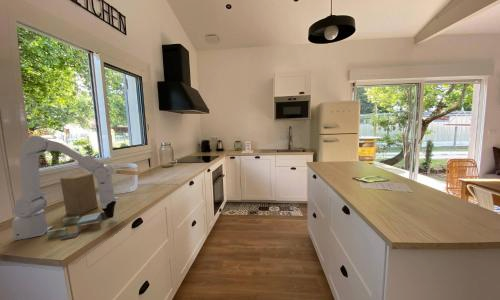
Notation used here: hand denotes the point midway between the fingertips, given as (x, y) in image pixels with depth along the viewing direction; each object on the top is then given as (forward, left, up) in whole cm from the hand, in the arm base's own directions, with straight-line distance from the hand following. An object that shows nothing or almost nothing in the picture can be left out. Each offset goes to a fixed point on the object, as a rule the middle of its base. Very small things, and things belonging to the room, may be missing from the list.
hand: (110, 217), depth 95 cm
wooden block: (-20, +24, -2) cm, 31 cm away
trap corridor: (-12, 0, -2) cm, 12 cm away
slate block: (-8, 0, -2) cm, 8 cm away
